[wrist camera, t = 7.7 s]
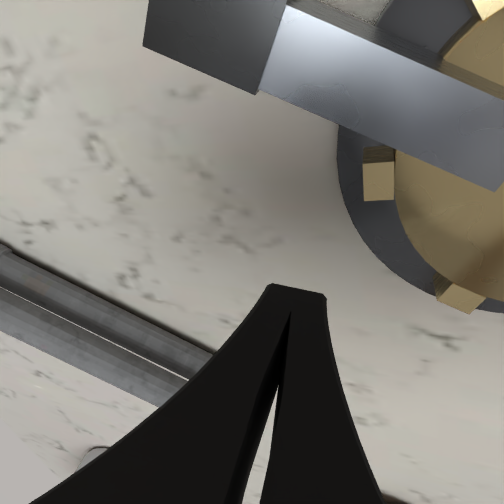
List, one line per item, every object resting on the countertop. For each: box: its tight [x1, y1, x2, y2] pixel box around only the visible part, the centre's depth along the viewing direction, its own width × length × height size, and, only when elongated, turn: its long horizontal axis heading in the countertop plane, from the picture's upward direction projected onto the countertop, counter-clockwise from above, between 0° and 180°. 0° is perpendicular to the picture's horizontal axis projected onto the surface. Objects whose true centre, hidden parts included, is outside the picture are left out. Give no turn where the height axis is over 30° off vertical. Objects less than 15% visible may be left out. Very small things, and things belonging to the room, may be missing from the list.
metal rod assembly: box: [0, 244, 213, 407], centre depth 24 cm, size 26×3×5 cm, turn 65°
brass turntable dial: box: [143, 0, 504, 314], centre depth 11 cm, size 19×13×4 cm
